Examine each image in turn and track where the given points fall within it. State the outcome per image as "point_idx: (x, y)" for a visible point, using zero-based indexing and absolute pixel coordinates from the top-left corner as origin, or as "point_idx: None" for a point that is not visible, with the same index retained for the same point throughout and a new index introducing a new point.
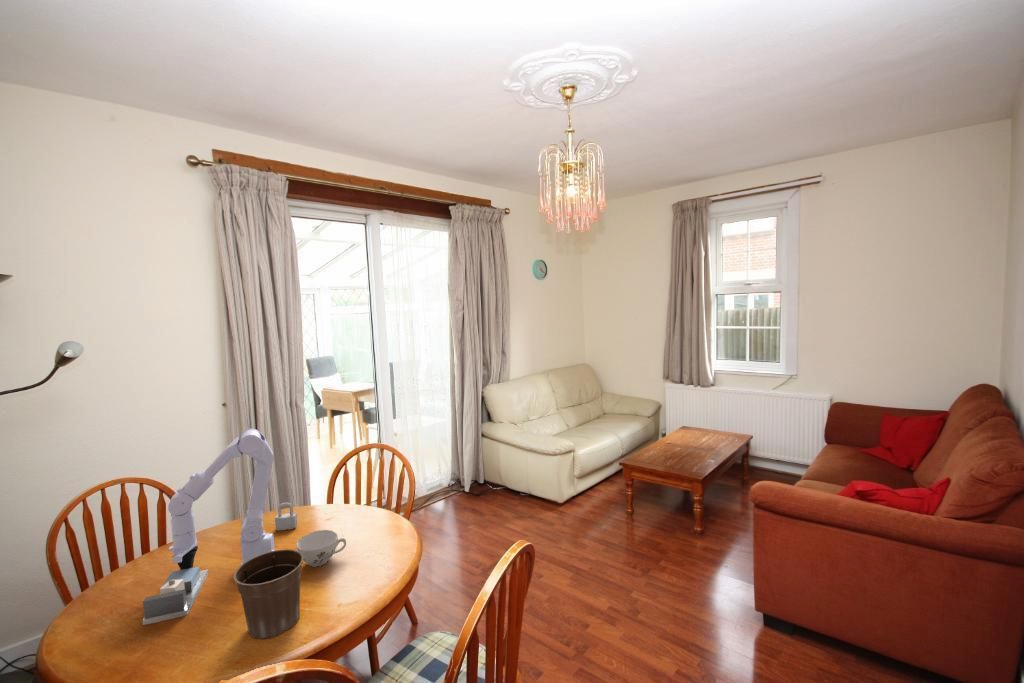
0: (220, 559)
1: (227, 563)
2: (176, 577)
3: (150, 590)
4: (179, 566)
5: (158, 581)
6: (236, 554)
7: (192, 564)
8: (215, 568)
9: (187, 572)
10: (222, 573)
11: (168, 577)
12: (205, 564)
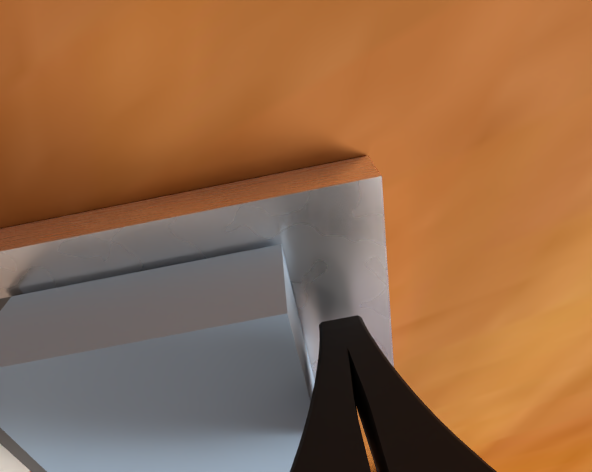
0: (569, 354)
1: (481, 406)
2: (147, 409)
3: (231, 16)
4: (307, 415)
5: (419, 2)
6: (580, 406)
7: (368, 439)
8: (446, 374)
9: (234, 445)
10: (360, 426)
11: (150, 345)
12: (551, 296)
